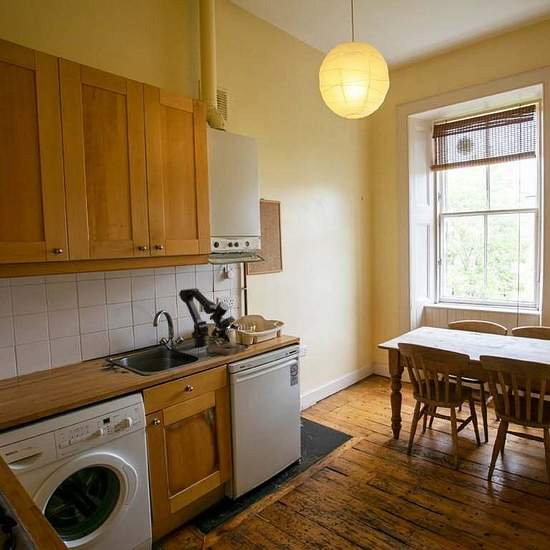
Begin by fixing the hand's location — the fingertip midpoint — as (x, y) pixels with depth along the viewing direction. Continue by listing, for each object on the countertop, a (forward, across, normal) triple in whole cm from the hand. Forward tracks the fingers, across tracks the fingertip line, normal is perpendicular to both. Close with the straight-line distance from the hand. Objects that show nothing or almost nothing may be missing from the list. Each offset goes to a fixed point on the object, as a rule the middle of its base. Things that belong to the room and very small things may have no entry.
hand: (232, 340), depth 237 cm
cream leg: (+4, 0, +6) cm, 7 cm away
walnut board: (+3, 0, +7) cm, 7 cm away
